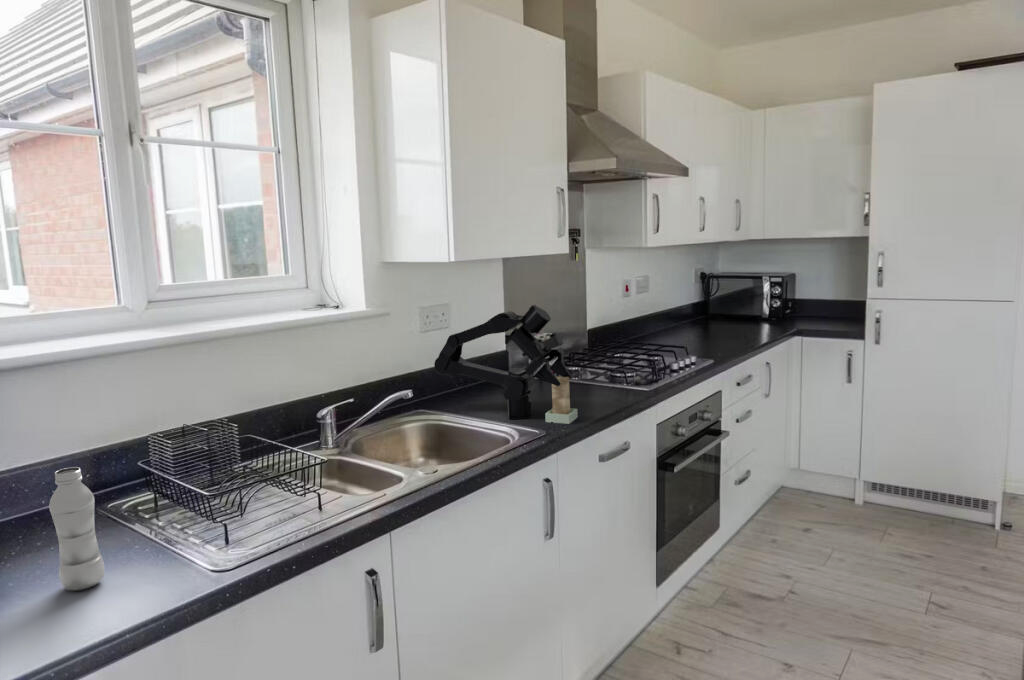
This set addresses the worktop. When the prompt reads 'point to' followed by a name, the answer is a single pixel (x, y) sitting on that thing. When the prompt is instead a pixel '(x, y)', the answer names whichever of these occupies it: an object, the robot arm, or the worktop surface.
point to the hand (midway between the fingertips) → (564, 381)
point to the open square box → (561, 417)
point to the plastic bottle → (75, 531)
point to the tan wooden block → (561, 396)
